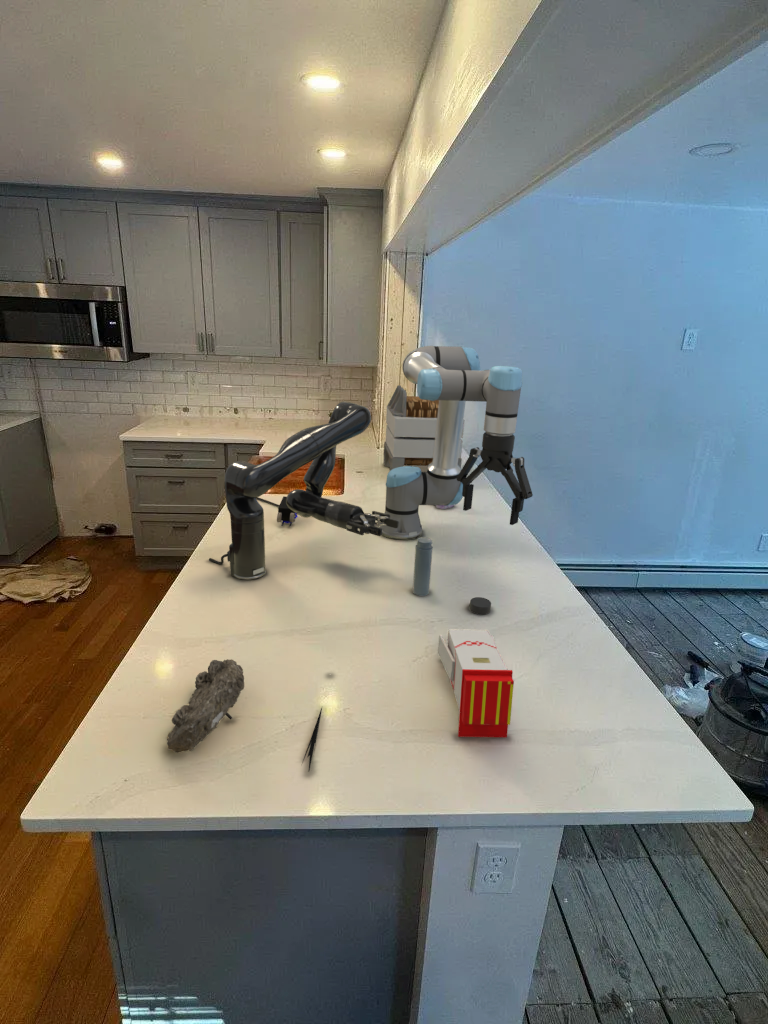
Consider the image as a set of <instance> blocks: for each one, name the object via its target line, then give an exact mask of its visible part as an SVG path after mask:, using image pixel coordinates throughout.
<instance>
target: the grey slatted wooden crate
mask: <svg viewBox="0 0 768 1024" xmlns="http://www.w3.org/2000/svg"><path fill="white" fill-rule="evenodd" d="M407 394H408V393H407V390H406V389H404V388H403V387H402V385H399V384H398V385H397V386H396V388H395V390H394V392H393V394H392V395H391V398H390V400H389V402H388V404H387V405H386V413H385V414H386V415H385V423H386V428H385V438H384V442H383V466H384V467H388V468H389V471H391V470H392V469H394V468H397V467H403V466H412V467H414V466H415V467H428V465H429V464H430V463H432V462H433V452H434V443H435V434H436V424H437V415H438V405H439V400H435V401H430V400H423V399H420V398H419V396H418V395H417V396H415V395H414V396H413V395H412V396H411V395H407ZM464 429H465V419H464V418H463V426H462V434H461V441H460V449H459V457H458V466H459V467H460V468H461V469H462V461H463V460H462V453H463V442H464V441H463V440H462V439H463V438H464V431H465V430H464Z"/></svg>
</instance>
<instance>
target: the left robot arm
mask: <svg viewBox="0 0 768 1024" xmlns="http://www.w3.org/2000/svg"><path fill="white" fill-rule="evenodd" d="M371 421H372V415H371V411H370V410H369V408H367V407H366V406H364V405H361V404H358V403H355V402H351V401H348V400H347V401H345V400H344V401H340V402H339V403H337V404H336V406H335V407H334V409H333V411H332V412H331V415H330V417H329V420H328V423H324V424H318V425H314V426H313V425H312V426H309V427H305V428H303V429H301V430H300V431H298V432H296V433H294V434H292V435H291V436H289V437H288V438H287V439H285V441H284V442H283V443H282V445H281V446H280V448H279V450H278V452H277V453H276V454H275V455H274V456H272V457H270V458H269V459H267V460H265V461H263V462H260V463H259V464H254V463H251V462H247V461H245V460H236V461H233V462H232V463H230V464H229V465H228V467H227V468H226V471H225V474H224V493H225V501H226V508H227V511H228V512H229V513H228V514H229V516H230V534H231V535H230V536H231V542H230V544H229V545H228V551H227V552H226V553H225V554H222V556H220V561H218V560H216V559H214V558H213V557H212V558H211V557H209V558H208V561H210V562H212V563H215V564H217V565H223V564H224V562H225V560H224V559H225V558H226V559H227V562H228V563H229V568H230V569H229V570H230V571H229V573H230V576H231V577H235V578H236V579H239V580H245V581H246V580H247V581H251V580H257V579H260V578H262V577H264V576H265V575H266V573H267V567H266V543H265V542H266V540H265V536H266V535H265V512H264V511H265V510H264V508H263V506H262V505H261V504H260V503H259V501H258V499H256V498H257V497H258V498H260V497H261V496H263V495H264V494H265V493H267V492H268V491H270V490H271V489H273V487H275V486H276V485H277V484H279V482H281V481H282V480H284V479H285V478H286V477H289V475H291V474H293V473H294V472H296V471H297V470H299V469H300V468H302V467H304V466H306V465H307V464H309V463H310V462H311V463H310V465H309V467H308V469H307V471H306V473H305V474H304V476H303V483H304V484H305V490H304V489H301V488H299V489H298V488H297V489H293V490H291V491H290V492H289V493H288V494H287V496H286V497H287V498H286V503H287V506H288V507H289V508H290V509H291V510H292V511H294V512H295V513H297V516H299V517H301V518H306V519H308V518H310V517H312V518H314V519H316V520H318V521H320V522H323V523H327V524H329V525H331V526H333V527H337V528H341V529H343V530H346V531H348V532H350V533H353V534H357V535H359V536H364V535H369V534H370V535H373V536H377V537H382V536H383V535H382V528H379V526H380V525H386V526H389V527H393V528H398V526H399V521H397V520H394V519H390V515H389V514H385V512H380V511H376V510H372V511H371V513H370V512H366V513H365V512H364V510H363V508H362V507H361V506H359V505H355V504H353V503H348V502H344V501H339V500H333V499H330V498H326V497H322V496H323V493H324V488H325V486H326V484H327V482H328V481H329V479H330V478H331V476H332V473H333V471H334V469H335V467H336V466H335V465H336V458H337V457H336V456H337V455H336V451H337V446H338V445H340V444H342V443H343V442H346V441H348V440H350V439H352V438H355V437H357V436H359V435H361V434H362V433H364V432H365V431H366V430H367V429H368V428H369V426H370V424H371ZM375 522H377V523H376V524H375Z"/></svg>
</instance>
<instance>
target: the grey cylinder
mask: <svg viewBox="0 0 768 1024" xmlns="http://www.w3.org/2000/svg"><path fill="white" fill-rule="evenodd" d="M414 547H415V550H414V562H413V563H414V564H413V578H412V580H413V581H412V593H413V595H416V596H419V597H425V596H428V595H429V594H430V587H431V576H432V574H431V573H432V562H433V549H434V547H433V540H432V539H431V538H430V537H426V536H420V537H418V538H416V545H415V546H414Z"/></svg>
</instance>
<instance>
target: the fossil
mask: <svg viewBox="0 0 768 1024" xmlns="http://www.w3.org/2000/svg"><path fill="white" fill-rule="evenodd" d="M243 670H244V669H243V667H242V665H240V664H237V662H236V661H235V660H234V659H232V658H231V659H227V658H226V659H224V660H223V661H222V660H217V659H212V660H211V661H210V663H209V665H208V666H207V671H201V672H199V673H198V674H197V675H196V676H195V680H194V684H195V685H194V687H195V689H194V690H193V693H192V694H191V697H190V698H189V700H188V704H184V705H182V706H181V707H180V709H177V710H176V711H175V713H174V715H173V716H172V718H171V723H172V724H173V727H172V730H171V731H170V732H168V734H167V738H166V741H167V742H166V745H167V749H168V750H169V751H173V752H174V753H176V754H178V753H182V752H188V751H189V752H192V751H193V750H195V748H196V747H197V746H199V744H200V743H201V742H203V741H204V740H205V739H206V738H207V737H208V736H209V735H210V734H211V733H212V732H214V730H215V729H217V727H218V726H219V724H220V722H221V721H222V720H223V719H224V718H225V716H226V717H227V719H229V720H233V717H232V715H230V714H229V710H230V709H231V708H234V706H235V704H236V703H237V702H238V699H239V697H240V695H241V693H242V691H243V690H245V689H244V688H245V675H244V671H243Z"/></svg>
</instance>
